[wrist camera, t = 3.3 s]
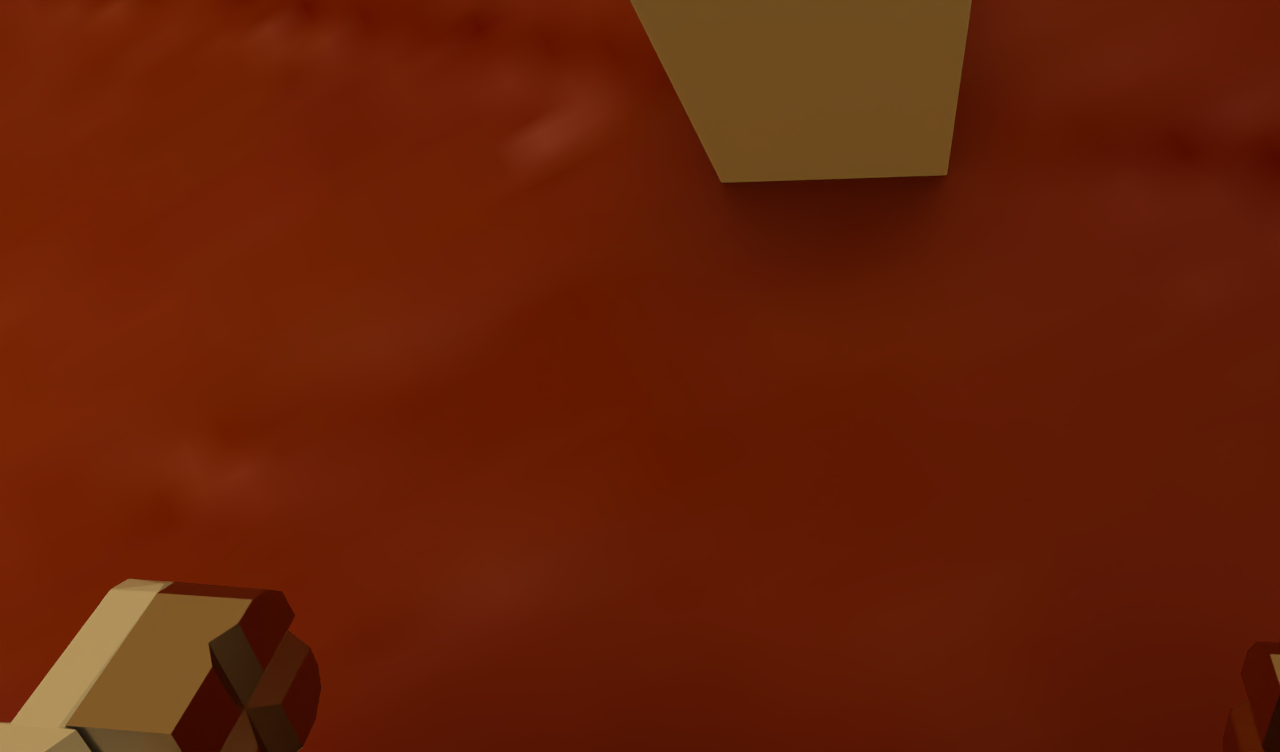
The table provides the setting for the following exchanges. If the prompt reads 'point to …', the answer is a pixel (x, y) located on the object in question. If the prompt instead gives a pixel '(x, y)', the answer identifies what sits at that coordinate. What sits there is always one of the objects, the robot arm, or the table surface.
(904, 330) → the table surface
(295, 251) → the table surface
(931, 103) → the beige rectangular block
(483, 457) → the table surface
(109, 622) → the robot arm
